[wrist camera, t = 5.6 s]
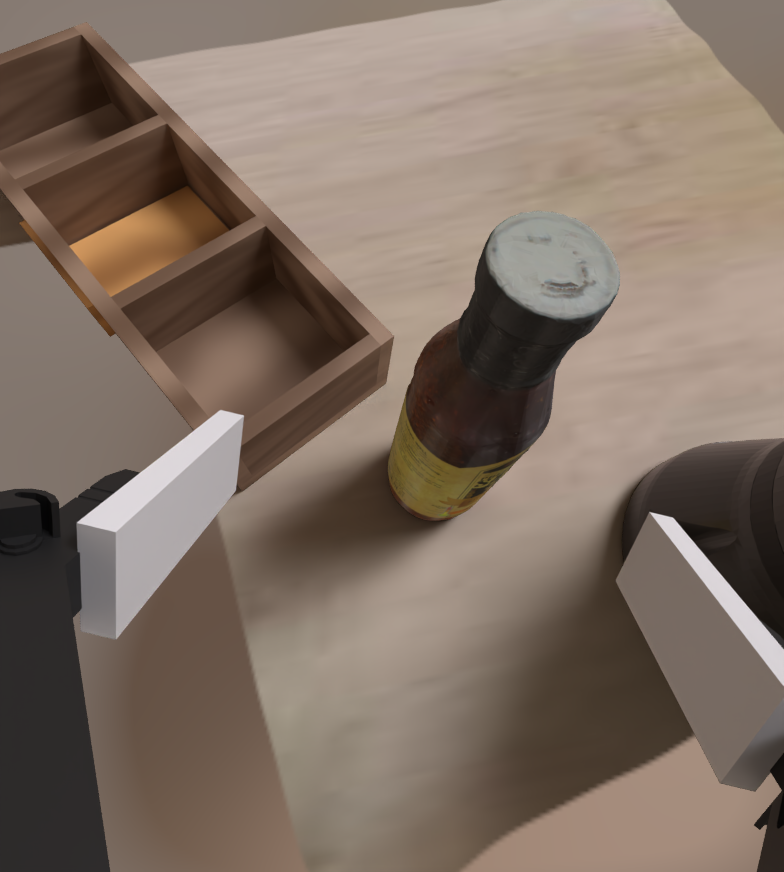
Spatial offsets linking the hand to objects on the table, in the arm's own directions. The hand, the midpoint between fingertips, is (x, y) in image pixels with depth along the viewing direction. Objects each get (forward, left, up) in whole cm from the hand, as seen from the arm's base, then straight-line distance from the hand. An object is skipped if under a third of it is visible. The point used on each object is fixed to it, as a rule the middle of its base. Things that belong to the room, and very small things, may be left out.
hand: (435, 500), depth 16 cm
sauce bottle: (+2, -6, -16) cm, 17 cm away
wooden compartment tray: (+26, -2, -15) cm, 30 cm away
